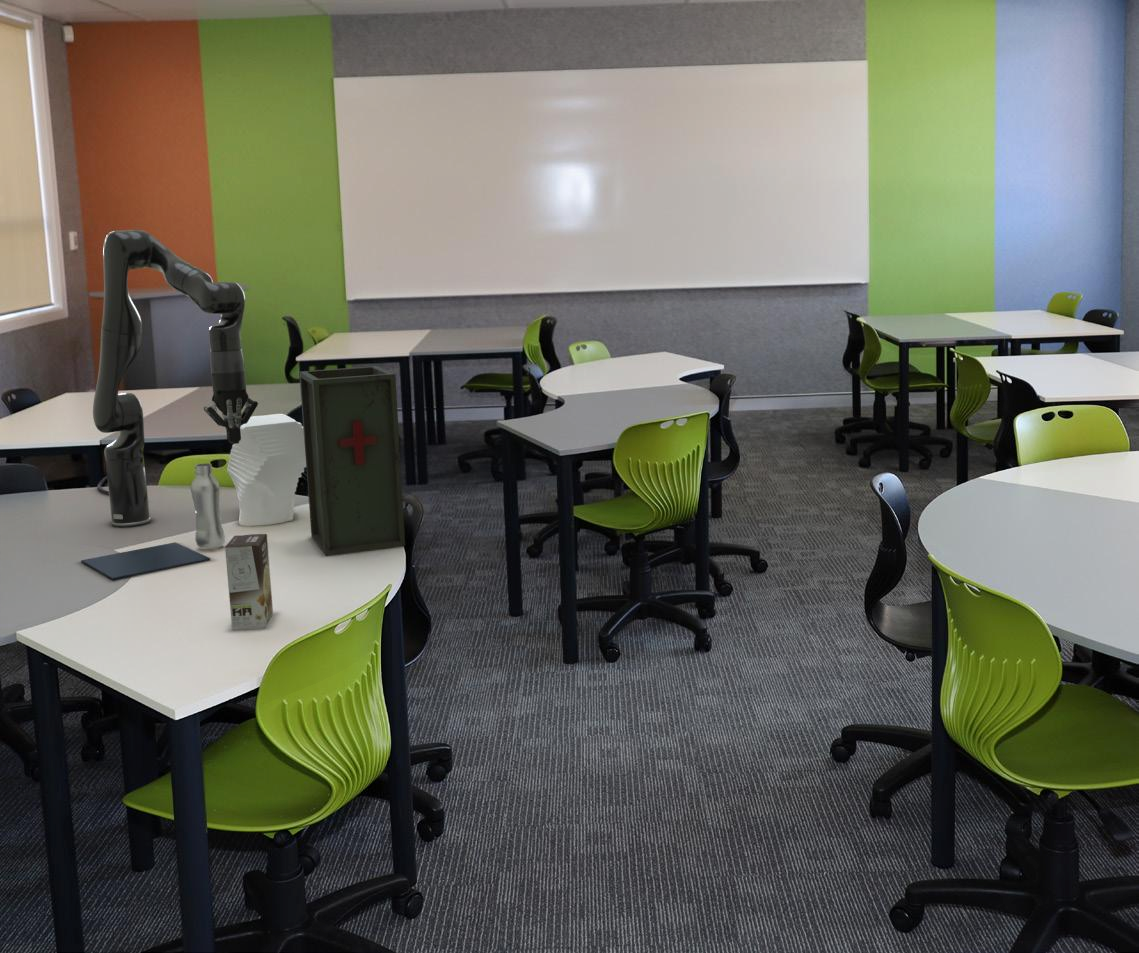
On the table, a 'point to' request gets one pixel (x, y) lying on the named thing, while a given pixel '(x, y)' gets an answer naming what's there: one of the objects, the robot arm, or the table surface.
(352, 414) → the first aid box
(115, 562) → the rubber mat
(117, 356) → the robot arm
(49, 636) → the table surface
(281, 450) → the paper stack
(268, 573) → the coffee box
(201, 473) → the silver bottle
